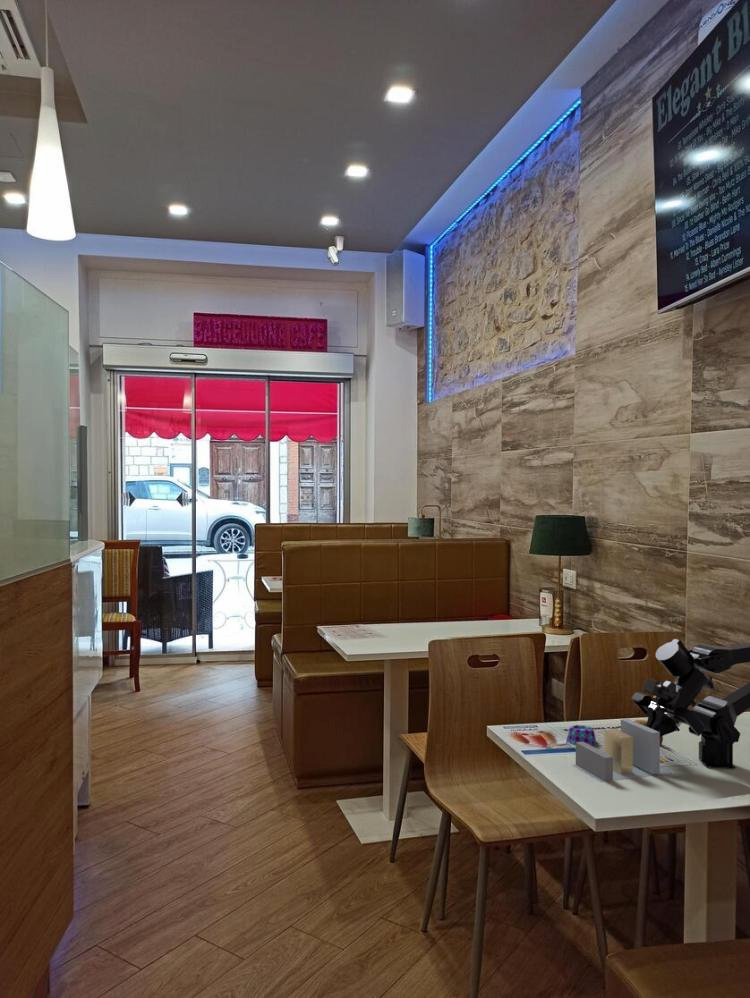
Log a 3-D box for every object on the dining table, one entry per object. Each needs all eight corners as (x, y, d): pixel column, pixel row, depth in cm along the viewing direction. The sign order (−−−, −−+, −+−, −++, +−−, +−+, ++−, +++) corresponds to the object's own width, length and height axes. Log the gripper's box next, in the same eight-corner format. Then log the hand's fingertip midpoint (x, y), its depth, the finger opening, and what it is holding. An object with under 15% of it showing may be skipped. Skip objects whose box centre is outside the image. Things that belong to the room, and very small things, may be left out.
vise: (641, 763, 175) (641, 735, 175) (673, 779, 165) (673, 750, 165) (571, 771, 169) (571, 742, 169) (600, 788, 159) (601, 758, 159)
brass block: (615, 764, 170) (615, 729, 170) (632, 773, 164) (632, 736, 164) (604, 765, 169) (604, 730, 169) (621, 774, 163) (621, 738, 164)
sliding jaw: (627, 757, 174) (627, 718, 174) (659, 773, 164) (659, 732, 164) (620, 758, 173) (620, 719, 174) (652, 774, 163) (652, 733, 163)
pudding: (611, 746, 189) (611, 725, 189) (598, 759, 178) (599, 737, 179) (565, 738, 195) (565, 718, 195) (550, 750, 185) (550, 729, 185)
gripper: (638, 658, 180) (598, 707, 176) (693, 674, 162) (651, 729, 158) (664, 689, 182) (626, 737, 178) (722, 708, 164) (681, 763, 161)
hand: (644, 740), depth 169 cm, fingers closed, pressing on sliding jaw
